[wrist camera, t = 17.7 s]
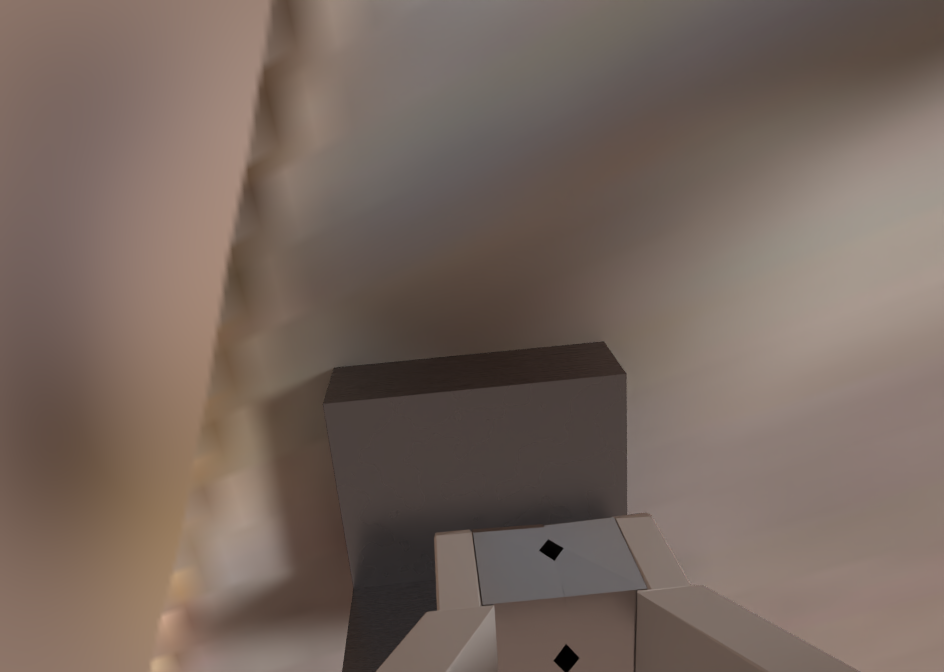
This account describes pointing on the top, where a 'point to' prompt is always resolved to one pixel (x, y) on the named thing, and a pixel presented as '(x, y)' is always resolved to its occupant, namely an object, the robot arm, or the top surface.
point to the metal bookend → (464, 465)
